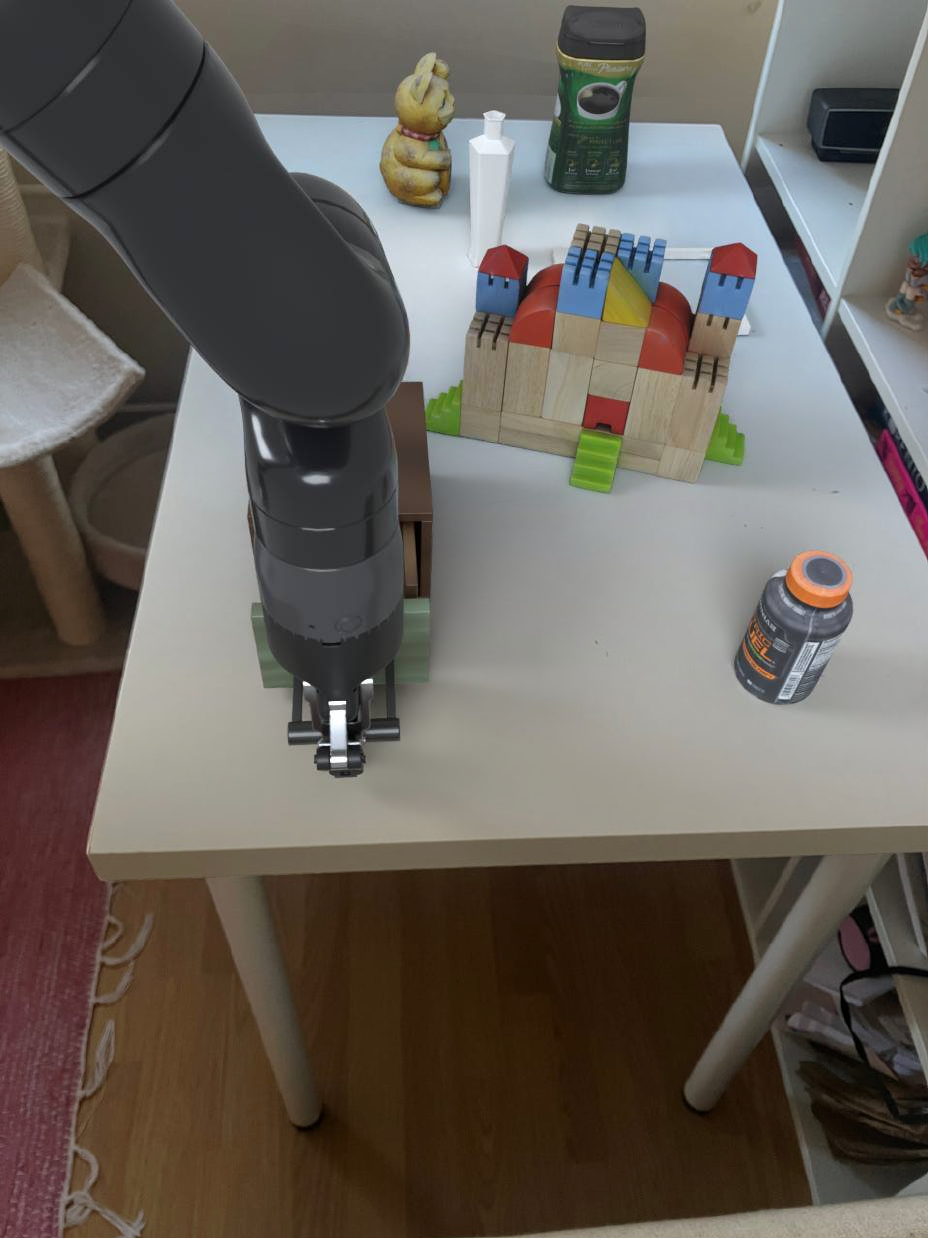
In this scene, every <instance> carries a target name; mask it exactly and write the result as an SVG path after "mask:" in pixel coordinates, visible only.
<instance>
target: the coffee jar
mask: <svg viewBox="0 0 928 1238" xmlns="http://www.w3.org/2000/svg"><path fill="white" fill-rule="evenodd" d="M646 38H647V25H646V18H645V15H644V12H643V11H642V10H641V8H640V7H637V6H636V7H619V6H618V7H617V6H591V5H590V6H587V5H573V4H568V5H567V6H566V7H565V9H564V12H563V15H562V19H561V25H560V28H559V32H558V36H557V40H556V47H555V53H556V60H557V64H558V70H559V75H558V84H557V85H558V86H557V94H556V101H555V106H554V111H553V117H552V121H551V127H550V130H549V131H550V132H549V137H548V142H547V146H546V152H545V157H544V168H543V170H544V171H543V172H544V173H543V174H544V177H545V178H544V179H545V181H546V182H547V184H548V185H549V186H550V187H552V188H553V189H555V190H556V191H558V192H562V193H569V194H590V195H591V194H592V195H597V194H598V195H600V194H613V193H616V192H617V191H618V190H620V189H621V188H622V187H624V185H625V183H626V176H627V170H628V169H627V168H628V155H629V139H630V138H629V136H630V135H629V134H630V121H631V109H632V99H633V92H634V86H635V82H636V78H637V75H638V73H639V72H640V70H641V68H642V66H643V64H644V61H645V58H646V46H647V45H646V44H647V39H646Z"/></svg>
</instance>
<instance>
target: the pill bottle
mask: <svg viewBox="0 0 928 1238" xmlns="http://www.w3.org/2000/svg"><path fill="white" fill-rule="evenodd" d="M853 579H854V577H853V573H852V571H851V569H850V566H849V565H848V564H847V563H846V562H845V561H844V560H842V559H841V558H840V557H838V556H837V555H835V554H833V553H830V552H828V551H824V550H814V549H813V550H812V549H811V550H806V551H803V552H800V553H799V554H796V556H795V557H793V559H792V561H791V563H790V565H789V567H786V568H783V569H780V570H778V571H777V572H775V573H774V574H773V575H772V576H771V577H770V578H769V579H768V580H767V582H766V583H765V585H764V588H763V590H762V593H761V595H760V598H759V600H758V602H757V604H756V607H755V610H754V612H753V615H752V617H751V618H750V622H749V624H748V626H747V628H746V631H745V633H744V636H743V638H742V640H741V642H740V645H739V647H738V650H737V651H736V655H735V656H734V661H733V668H734V672H735V676H736V679H737V680H738V681H739V683H740V685H741V686H742V687H743V688H744V690H745V691H747V692H748V693H749V694H750V695H752V696H753V697H755V698H756V699H758V700H761V701H763V702H765V703H767V704H772V705H777V706H789V705H794V704H798V703H800V702H802V701H804V700H805V699H807V698H808V697H809V696H810V695H811V694H812V692H813V691H814V689H815V687H816V686H817V684H818V682H819V680H820V679H821V676H822V675H823V672H824V671H825V670H826V667H827V665H828V663H829V662H830V659H832V658H831V657H832V656H833V654H834V653H835V650H836V649H837V647H838V645H839V643H840V641H841V639H842V638H843V636H844V634H845V633H846V630H847V628H848V627H849V625H850V623H851V621H852V619H853V614H854V602H853V601H854V600H853V598H852V595H851V593H850V590H851V588H852V585H853V581H854V580H853Z"/></svg>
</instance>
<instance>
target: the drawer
mask: <svg viewBox="0 0 928 1238" xmlns="http://www.w3.org/2000/svg"><path fill="white" fill-rule="evenodd" d="M399 525H400V530H401V535H402V541H403V554H404V633H403V639H402V643H401V646H400V648H399V650H398V652H397V654H396V655H395V657H394V658H393V659H392V661H391V662H390V663H389V664H388V665H387V666H386V667H385V668H384V669H382V670H381V671H380V672H378V673H377V674H375V675H374V676H373V686H374V685H385V706H386V707H385V710H386V717H378V718H377V717H376V718H375V717H374V718H373V717H372V718H370V728H369V729H367V730H365V731H363V736H365V737H366V744H367V743H389V742H391V743H392V742H393V743H394V742H400V741H401V720H400V717H397V701H396V685H399V684H401V685H402V684H427V683H429V676H430V675H429V672H430V643H431V642H430V638H431V636H430V635H431V598H430V599H429V598H418V581H417V565H416V548H415V532H414V521H401V522H399ZM250 621H251V627H252V632H253V637H254V643H255V648H256V652H257V657H258V658H257V659H258V664H259V670H260V676H261V680H262V686H263V689H282V688H283V689H285V688H286V689H288V688H289V689H290V688H292V702H291V703H292V705H291V707H292V708H291V721H288V722H287V727H286V729H287V731H286V732H287V733H286V735H287V745H288V746H312V745H313V746H314V745H317V746H318V741H320V740H321V737H322V734H321V733H320V732H316V731H314V730H313V728H312V720H303V704H304V702H303V701H304V689H303V681H302V680H300V679H298V678H296V677H295V676H293V675H291V674H290V673H288V672H287V671H286V670H285V669H284V668H283V667H281V666H280V664H279V663H278V662H277V661H276V659H275V658H274V656H273V655H272V653H271V650H270V648H269V645H268V640H267V635H266V629H265V623H264V617H263V611H262V605H261V602H252V603H251V606H250Z"/></svg>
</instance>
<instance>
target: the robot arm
mask: <svg viewBox="0 0 928 1238" xmlns="http://www.w3.org/2000/svg"><path fill="white" fill-rule="evenodd" d="M0 147H1V148H2V149H3V150H4V151H5V152H7V153H8V154H9V155H10V156H11V157H12V158H13V159H14V160H16V162H18V164H20V166H21V165H22V167H23V168H24V169H26V170H27V171H28V172H29V173H30V174H31V175H32V176H34V177H35V178H36V179H37V181H39V182H40V183H41V184H42V185H44V186H45V187H46V189H48V190H49V191H50V192H51V193H53V195H55V196H56V197H57V198H58V199H59V200H61V201H62V202H63V203H64V204H65V205H67V207H68V208H70V210H72V211H73V212H74V213H76V214H77V215H78V216H79V217H81V218H82V219H83V220H85V221H86V222H87V223H88V224H89V225H91V226H92V227H93V228H94V229H95V230H96V231H97V232H98V233H100V235H102V237H103V238H104V239H105V240H106V241H107V242H108V244H110V245H109V246H111V247H112V248H113V249H114V251H115V252H116V253H117V255H118V256H119V257H120V258H121V260H122V261H123V262H124V263H125V265H126V266H127V267H128V269H129V270H130V272H131V273H132V274H133V276H134V277H135V278H136V280H137V281H138V282H139V284H140V285H141V286H142V288H143V289H144V291H145V292H146V293H147V294H148V295H149V296H150V298H151V299H152V300H153V301H154V302H155V304H156V305H157V306H158V308H160V310H161V311H162V312H163V313H164V314H165V315H166V317H167V318H168V319H169V320H170V322H171V323H172V324H173V325H174V327H175V328H176V329H177V331H178V332H180V334H181V335H182V337H184V339H185V340H186V341H187V342H188V343H189V344H190V346H191V347H192V348H193V350H195V352H196V353H197V355H199V356H200V357H201V358H202V359H203V361H204V362H205V363H206V364H207V365H208V367H210V369H212V370H213V372H214V373H215V374H217V376H218V377H219V378H220V379H221V380H222V381H223V382H224V383H225V384H226V385H227V386H228V387H229V388H231V389H232V390H233V391H234V392H235V393H236V394H237V397H238V401H239V402H238V403H239V407H240V411H241V418H242V430H243V453H244V473H245V483H246V489H247V495H248V501H249V502H250V508H251V514H252V520H253V526H254V555H253V563H254V570H255V575H256V580H257V586H258V592H259V598H260V603H261V605H262V611H263V617H264V623H265V629H266V635H267V640H268V645H269V648H270V650H271V653H272V655H273V656H274V658H275V659H276V661H277V662H278V663H279V664H280V666H281V667H283V668H284V669H285V670H286V671H287V672H288V673H290V674H291V675H293V676H295V677H296V678H298V679H300V680H302V681H303V699H304V701H305V702H306V703H308V704H309V711H310V719H311V720H310V721H312V728H313V730H314V731H316V732H320V733H321V734H322V737H321V740H320V741H318V744H317V747H316V751H315V752H316V753H315V754H314V755H313V764H314V765H316V771H319V772H328V774H329V775H330V776H333V777H334V779H346V778H348V779H349V778H358V776H360V775H362V774H363V773H364V764H367V759H366V757H367V756H366V754H365V752H364V745H366V744H367V743H366V737H365V736H363V731H365V730H367V729H369V728H370V719H371V701H372V700H373V699H374V685H373V676H374V675H375V674H377V673H378V672H380V671H381V670H382V669H384V668H385V667H386V666H387V665H388V664H389V663H390V662H391V661H392V659H393V658H394V657H395V655H396V654H397V652H398V650H399V648H400V646H401V643H402V639H403V633H404V554H403V541H402V535H401V530H400V525H399V518H398V464H397V453H396V446H395V441H394V436H393V432H392V429H391V425H390V422H389V418H388V415H387V412H386V408H385V405H386V404H387V403H388V402H389V400H390V399H391V398H392V397H393V395H394V394H395V393H396V391H397V389H398V388H399V386H400V384H401V382H403V379H404V377H405V374H406V372H407V369H408V364H409V359H410V353H411V331H410V324H409V317H408V313H407V309H406V306H405V304H404V303H405V302H404V300H403V297H402V295H401V292H400V289H399V287H398V285H397V282H396V279H395V276H394V274H393V271H392V269H391V266H390V263H389V261H388V258H387V256H386V252H385V250H384V247H383V244H382V241H381V239H380V237H379V236H380V235H379V234H378V232H377V229H376V228H375V225H374V224H373V222H372V220H371V218H370V217H369V215H368V214H367V212H366V211H365V210H364V208H363V207H362V205H360V204H359V202H358V201H357V200H356V199H355V198H354V197H353V196H352V195H351V194H349V193H348V192H347V191H346V190H345V189H343V187H340V186H339V185H337V184H335V183H334V182H332V181H330V180H327V179H325V178H323V177H320V176H317V175H314V174H312V173H307V172H299V171H290V172H289V171H288V170H287V168H286V167H285V166H284V164H283V163H282V162H281V160H280V159H279V157H277V155H276V154H275V153H274V151H273V150H272V148H271V146H270V145H269V143H268V141H267V139H266V138H265V135H264V133H263V131H262V129H261V127H260V125H259V123H258V120H257V118H256V116H255V113H254V111H253V108H252V107H251V105H250V102H249V101H248V99H247V96H246V95H245V93H244V91H243V89H242V87H241V86H240V85H239V83H238V81H237V80H236V79H235V77H234V75H233V74H232V72H231V70H229V68H228V67H227V65H226V64H225V62H224V61H223V59H222V58H221V57H220V56H219V54H218V53H217V51H216V50H215V49H214V48H213V46H212V45H211V44H210V43H209V41H208V40H207V39H206V38H205V37H203V36H202V33H201V32H200V31H199V30H198V29H197V28H196V26H195V25H194V24H193V23H192V22H191V20H190V19H189V18H188V17H187V15H186V14H184V12H183V11H182V10H181V8H180V7H179V5H177V4H176V2H174V0H0Z"/></svg>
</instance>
